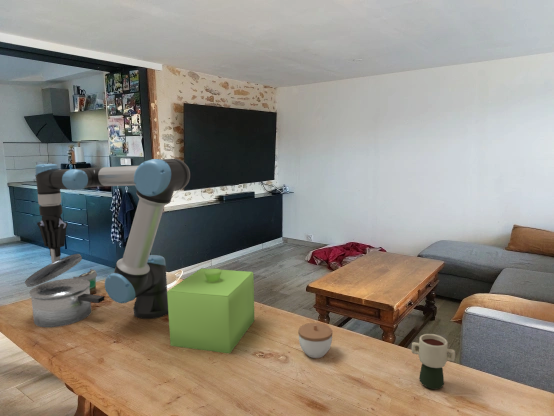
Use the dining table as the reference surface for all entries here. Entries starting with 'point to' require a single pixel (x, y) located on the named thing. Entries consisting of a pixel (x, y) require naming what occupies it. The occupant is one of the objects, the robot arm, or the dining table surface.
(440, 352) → the character mug
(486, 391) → the dining table surface
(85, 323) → the dining table surface
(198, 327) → the canister
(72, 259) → the cooker lid
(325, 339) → the lidded jar
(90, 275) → the food container
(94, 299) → the cooker pot
